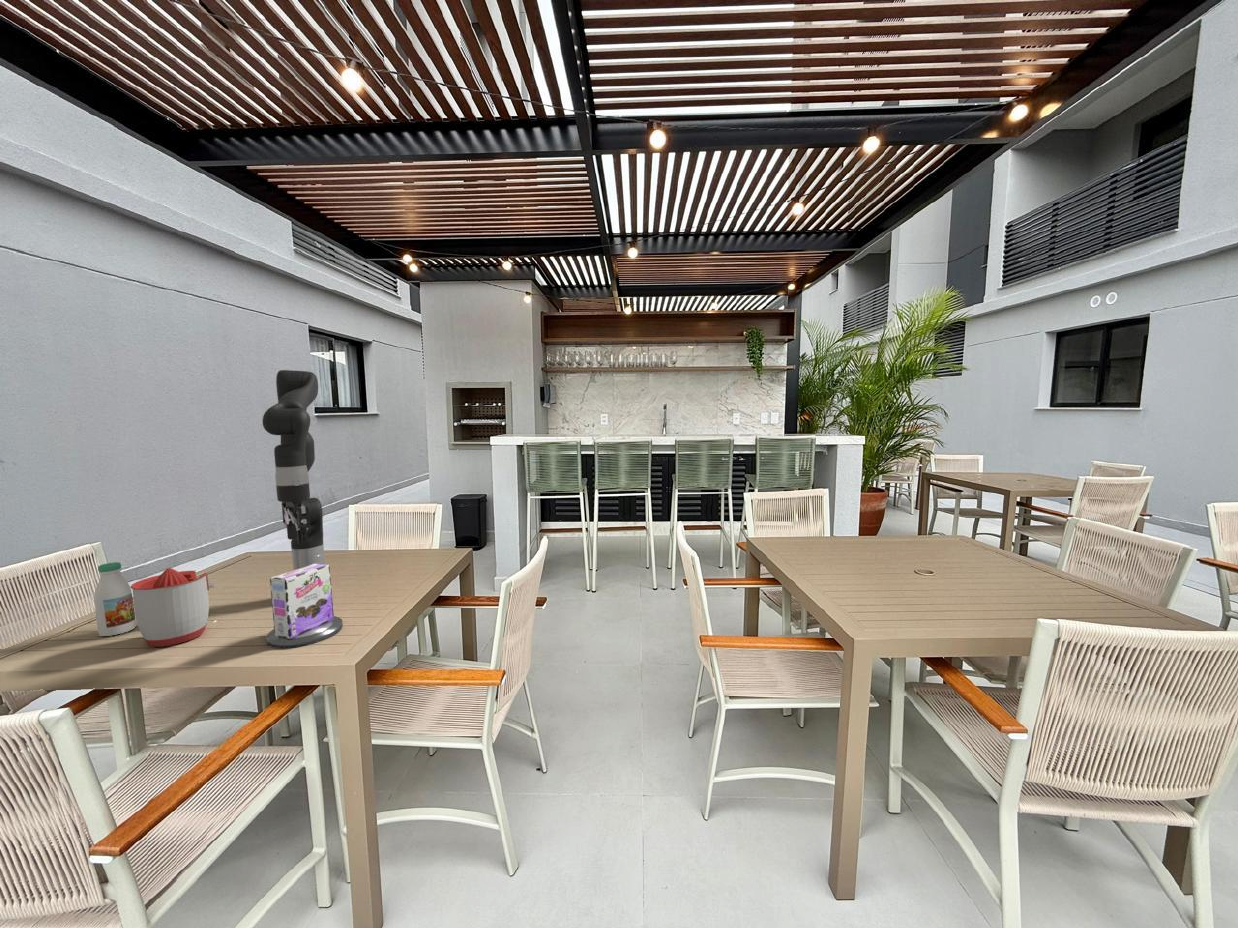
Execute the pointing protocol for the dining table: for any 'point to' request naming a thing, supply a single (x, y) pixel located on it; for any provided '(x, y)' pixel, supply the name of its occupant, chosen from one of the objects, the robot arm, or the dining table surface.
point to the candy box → (301, 600)
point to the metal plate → (306, 635)
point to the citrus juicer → (171, 607)
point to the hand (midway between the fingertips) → (297, 541)
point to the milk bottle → (113, 601)
